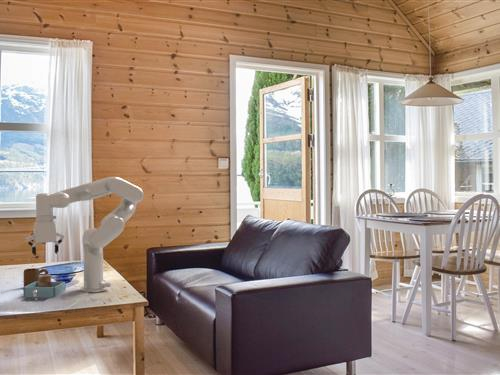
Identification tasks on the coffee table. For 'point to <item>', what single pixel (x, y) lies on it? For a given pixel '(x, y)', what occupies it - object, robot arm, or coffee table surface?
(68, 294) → the coffee table surface
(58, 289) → the bin
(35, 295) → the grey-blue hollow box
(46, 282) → the brown cylinder
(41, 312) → the coffee table surface
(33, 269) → the mug
